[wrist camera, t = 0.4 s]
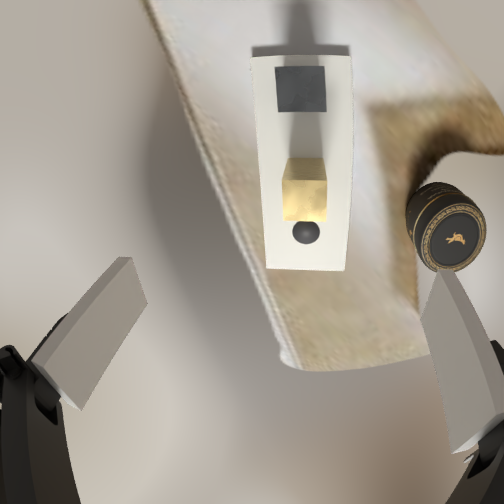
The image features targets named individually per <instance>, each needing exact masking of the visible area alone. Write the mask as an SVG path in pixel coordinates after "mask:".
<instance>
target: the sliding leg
mask: <svg viewBox="0 0 504 504" xmlns="http://www.w3.org/2000/svg"><path fill="white" fill-rule="evenodd" d="M282 200H283V221H317V222H326V214H327V176H326V170H325V165H324V159H323V158H288V159H287V163H286V166H285V170H284V173H283V177H282Z"/></svg>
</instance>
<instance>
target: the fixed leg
mask: <svg viewBox="0 0 504 504" xmlns="http://www.w3.org/2000/svg"><path fill="white" fill-rule="evenodd" d="M274 68H275V80H276V93H277V107H278V112H327V105H326V83H325V66H278V67H274Z"/></svg>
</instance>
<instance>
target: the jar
mask: <svg viewBox="0 0 504 504" xmlns="http://www.w3.org/2000/svg"><path fill="white" fill-rule="evenodd" d="M406 226H407V231H408V234H409V236H410V238H411V240H412V242H413V244H414V246H415V249H416V251H417V253H418V255H419V257H420V258H421V260H422V261H423V263H424V264H425V265H426V266H427V267H428V268H429V269H431V270H432V271H434V272H437V270H438V269H442V270H453V271H454V272H457V271H459V270H462V269H463V268H465V267H466V266H468V265H469V264H470V263H471V262H473V261H474V259H475V258H476V257H477V255H478V254H479V253H480V251H481V249H482V247H483V245H484V242H485V238H486V222H485V218H484V216H483V214H482V212H481V211H480V209H479V208H478V207H477V205H476V204H475V203H474V202H473V200H471V199H470V198H469V197H467V196H465V195H464V194H463V193H462V192H461V191H460V190H458V189H457V188H456V187H454V186H453V185H450V184H447V183H442V182H433V183H430V184H427V185H425V186H423V187H421V188H420V189H419V190H418V191H417V192H416V193H415V194H414V195H413V196H412V198H411V199H410V201H409V204H408V206H407V210H406Z"/></svg>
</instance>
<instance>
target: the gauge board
mask: <svg viewBox="0 0 504 504" xmlns="http://www.w3.org/2000/svg"><path fill="white" fill-rule="evenodd" d="M250 65H251V75H252V86H253V98H254V109H255V121H256V133H257V145H258V158H259V170H260V183H261V196H262V210H263V224H264V238H265V252H266V267H267V268H270V269H297V270H327V271H344V267H345V259H346V250H347V240H348V229H349V217H350V204H351V188H352V165H353V88H352V67H351V56H338V55H279V56H263V57H251V58H250ZM278 66H325V83H326V105H327V112H278V107H277V93H276V80H275V68H274V67H278ZM288 158H323V159H324V165H325V170H326V176H327V214H326V222H317V221H283V200H282V177H283V173H284V170H285V166H286V163H287V159H288Z"/></svg>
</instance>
